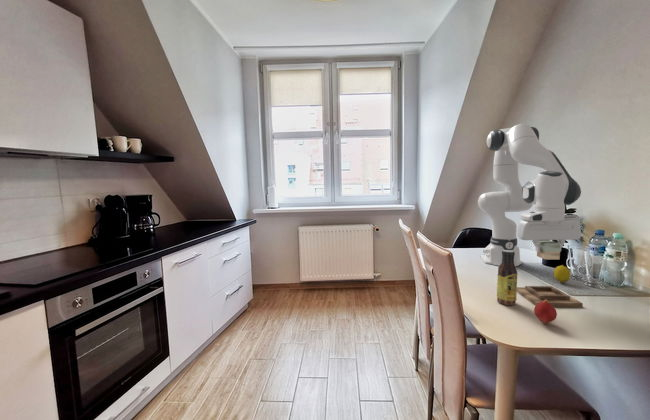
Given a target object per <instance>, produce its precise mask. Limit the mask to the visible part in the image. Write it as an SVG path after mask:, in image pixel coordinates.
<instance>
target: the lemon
mask: <svg viewBox="0 0 650 420" xmlns="http://www.w3.org/2000/svg"><path fill="white" fill-rule="evenodd" d="M553 277H554V279H555V280H556V281H557V282H559V283H560V284H563V283H565V282H568V281H569V280H570V278H571V271H570V269H569V268H568V267H567V266H564V264H562V265H558V266H556V267H555V269H554V270H553Z"/></svg>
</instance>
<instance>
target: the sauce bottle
mask: <svg viewBox="0 0 650 420" xmlns="http://www.w3.org/2000/svg"><path fill="white" fill-rule="evenodd" d="M514 255H515V252H514V251H512V250H502V263H501V264H500V266H498V267H497V280H496V281H497V282H496V285H497V286H496V301H497V302H498V303H499V304H500V305H501V304H502V305H504V306H505V305H506V306H514V305H516V301H517V294H518V293H517V287H518V271H517V268H516V266H515V265H514Z"/></svg>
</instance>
